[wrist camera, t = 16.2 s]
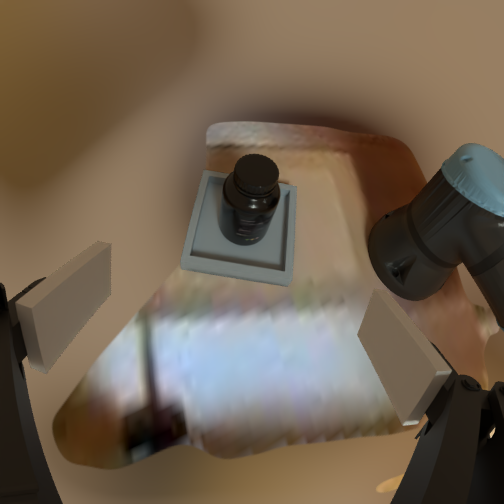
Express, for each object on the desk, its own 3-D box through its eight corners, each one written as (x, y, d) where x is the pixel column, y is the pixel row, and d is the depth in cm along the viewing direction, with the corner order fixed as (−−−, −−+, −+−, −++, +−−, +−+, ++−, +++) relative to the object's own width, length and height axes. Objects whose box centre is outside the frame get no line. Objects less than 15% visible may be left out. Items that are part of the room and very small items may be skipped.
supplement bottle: (212, 210, 43) (218, 149, 32) (258, 201, 45) (276, 143, 34) (225, 253, 40) (235, 199, 30) (274, 242, 42) (298, 189, 31)
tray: (292, 195, 47) (296, 186, 45) (287, 286, 40) (292, 280, 38) (203, 179, 46) (203, 169, 44) (181, 269, 39) (180, 261, 37)
